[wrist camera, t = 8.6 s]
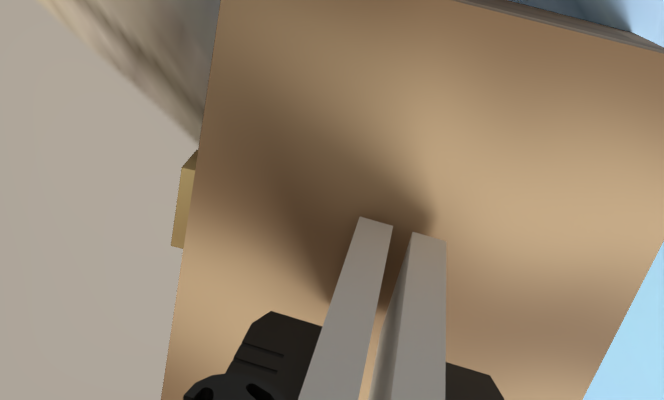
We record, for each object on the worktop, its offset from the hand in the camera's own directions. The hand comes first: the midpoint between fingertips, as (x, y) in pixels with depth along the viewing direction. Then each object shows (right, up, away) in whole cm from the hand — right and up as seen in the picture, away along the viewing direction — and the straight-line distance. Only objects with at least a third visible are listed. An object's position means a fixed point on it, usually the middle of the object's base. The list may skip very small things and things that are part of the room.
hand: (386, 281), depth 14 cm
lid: (0, +1, +1) cm, 2 cm away
